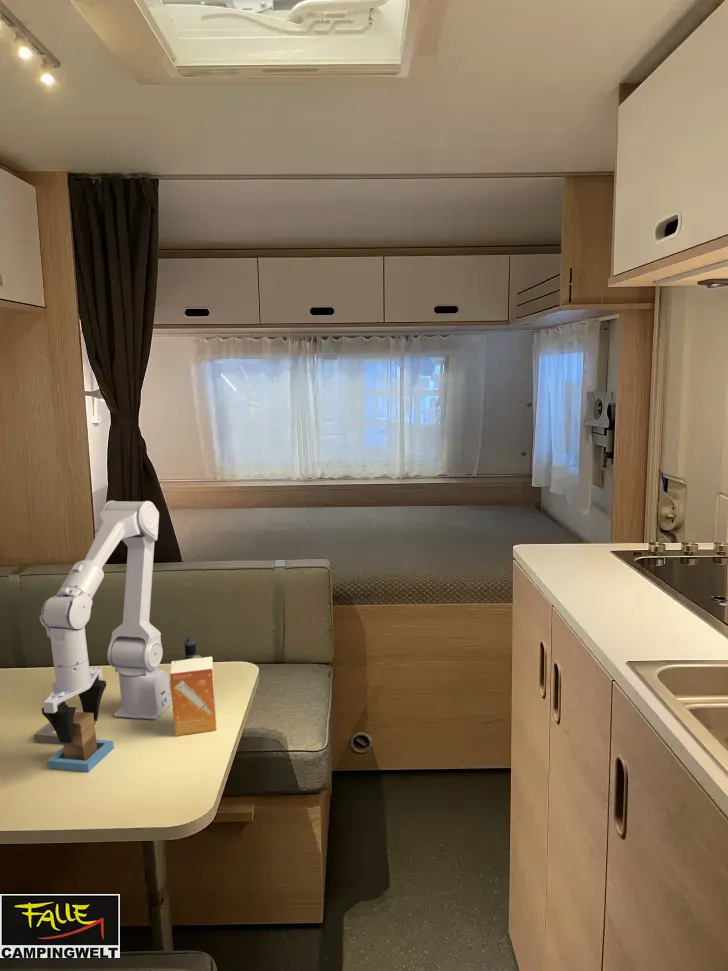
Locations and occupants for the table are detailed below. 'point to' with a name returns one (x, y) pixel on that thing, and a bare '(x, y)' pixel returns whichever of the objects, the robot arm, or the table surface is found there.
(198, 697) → the small box
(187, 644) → the vaping device
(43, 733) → the frame
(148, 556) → the robot arm
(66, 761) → the blue rim cradle
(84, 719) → the walnut peg
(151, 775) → the table surface
